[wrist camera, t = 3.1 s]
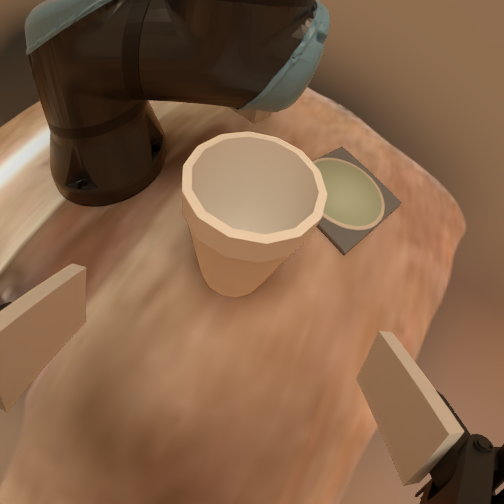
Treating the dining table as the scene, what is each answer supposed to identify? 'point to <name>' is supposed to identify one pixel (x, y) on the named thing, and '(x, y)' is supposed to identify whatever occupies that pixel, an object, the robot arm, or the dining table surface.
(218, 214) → the foam cup
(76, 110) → the robot arm
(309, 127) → the dining table surface
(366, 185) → the square coaster
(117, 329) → the dining table surface
